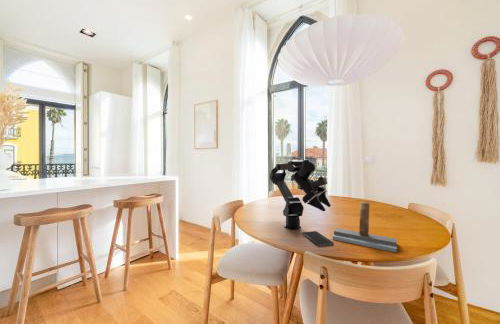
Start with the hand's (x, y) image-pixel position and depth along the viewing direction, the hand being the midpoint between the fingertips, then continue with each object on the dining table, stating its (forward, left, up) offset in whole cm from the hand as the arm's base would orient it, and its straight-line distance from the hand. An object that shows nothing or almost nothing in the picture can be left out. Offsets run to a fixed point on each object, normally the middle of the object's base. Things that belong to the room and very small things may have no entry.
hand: (327, 208), depth 101 cm
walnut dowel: (+13, +9, -11) cm, 19 cm away
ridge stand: (+13, +9, -14) cm, 20 cm away
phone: (-2, -4, -14) cm, 15 cm away
